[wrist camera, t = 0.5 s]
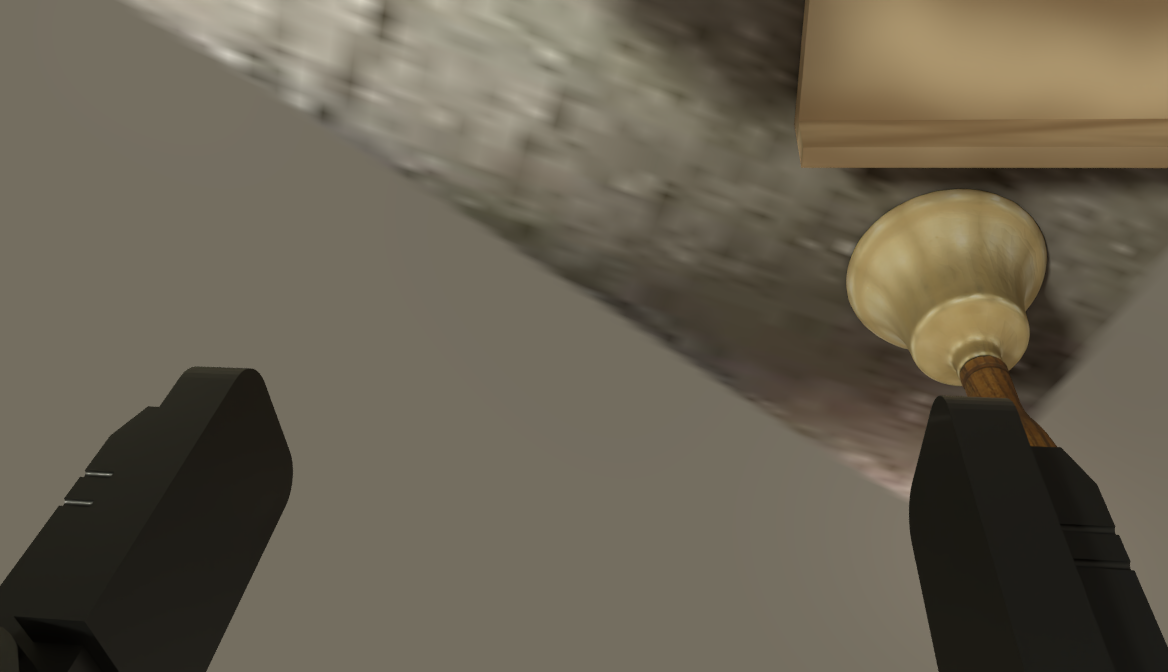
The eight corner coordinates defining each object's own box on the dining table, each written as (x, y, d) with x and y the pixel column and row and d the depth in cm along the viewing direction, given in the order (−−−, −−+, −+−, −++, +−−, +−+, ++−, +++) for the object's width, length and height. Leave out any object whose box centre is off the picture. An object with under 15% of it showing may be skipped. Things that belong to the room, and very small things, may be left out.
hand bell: (924, 154, 37) (1034, 419, 24) (1089, 240, 38) (1276, 532, 25) (809, 301, 41) (850, 585, 29) (959, 372, 43) (1061, 672, 30)
